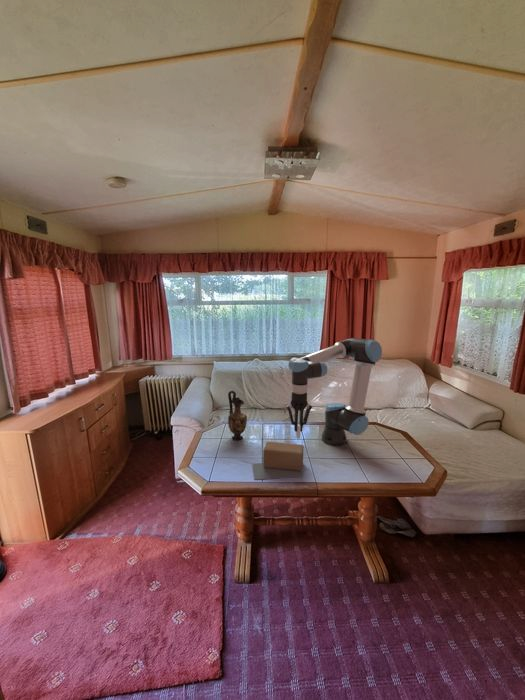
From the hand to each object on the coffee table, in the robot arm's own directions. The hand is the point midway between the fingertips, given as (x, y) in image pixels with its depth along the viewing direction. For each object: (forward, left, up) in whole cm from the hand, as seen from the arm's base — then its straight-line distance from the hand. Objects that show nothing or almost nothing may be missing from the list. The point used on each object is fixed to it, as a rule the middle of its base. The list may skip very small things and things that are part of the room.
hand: (298, 437), depth 145 cm
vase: (+30, -38, -18) cm, 52 cm away
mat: (+10, 0, -17) cm, 20 cm away
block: (-3, -2, -12) cm, 13 cm away
